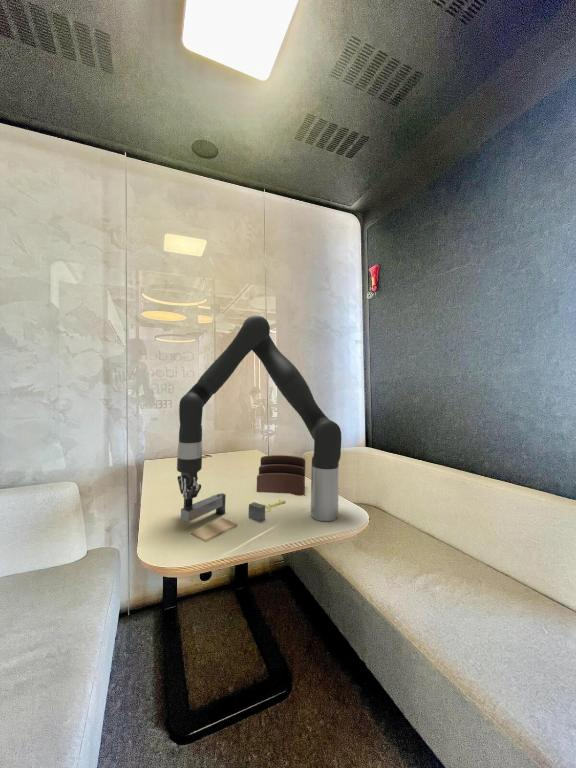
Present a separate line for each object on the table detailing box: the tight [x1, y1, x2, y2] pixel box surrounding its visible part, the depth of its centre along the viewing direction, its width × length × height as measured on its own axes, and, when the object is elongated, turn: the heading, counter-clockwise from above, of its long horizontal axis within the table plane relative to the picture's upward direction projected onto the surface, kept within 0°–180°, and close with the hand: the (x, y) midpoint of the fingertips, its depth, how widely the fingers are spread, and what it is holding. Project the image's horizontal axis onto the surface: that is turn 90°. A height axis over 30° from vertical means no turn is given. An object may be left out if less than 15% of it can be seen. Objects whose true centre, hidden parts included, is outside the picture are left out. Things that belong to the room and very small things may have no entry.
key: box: [260, 499, 286, 514], centre depth 109 cm, size 7×12×2 cm, turn 144°
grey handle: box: [180, 493, 227, 523], centre depth 97 cm, size 17×4×6 cm, turn 148°
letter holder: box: [256, 454, 306, 496], centre depth 127 cm, size 10×20×14 cm, turn 86°
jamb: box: [248, 501, 266, 523], centre depth 100 cm, size 10×19×5 cm, turn 53°
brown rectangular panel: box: [190, 517, 238, 543], centre depth 90 cm, size 12×7×1 cm, turn 143°
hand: (187, 509), depth 95 cm, fingers closed
